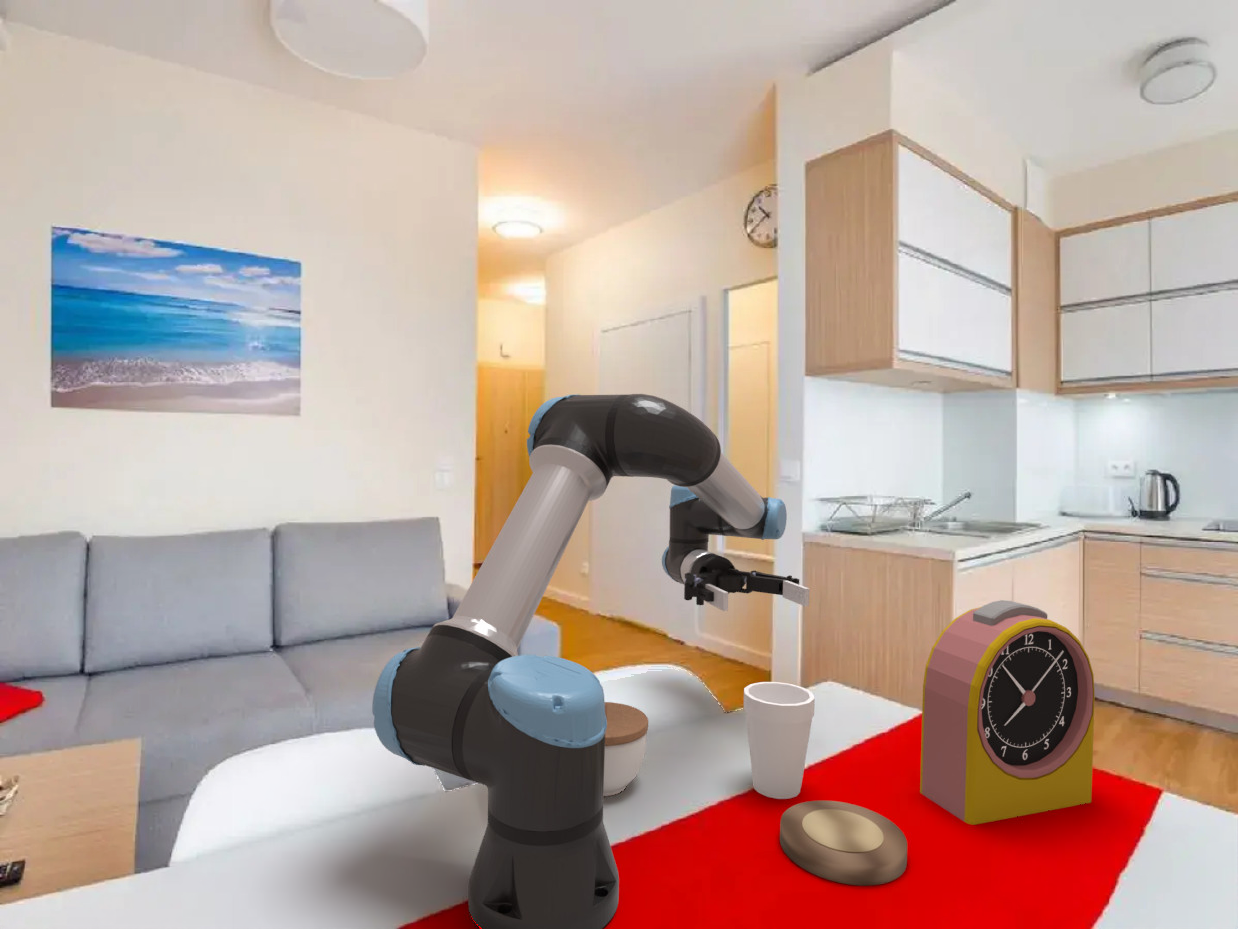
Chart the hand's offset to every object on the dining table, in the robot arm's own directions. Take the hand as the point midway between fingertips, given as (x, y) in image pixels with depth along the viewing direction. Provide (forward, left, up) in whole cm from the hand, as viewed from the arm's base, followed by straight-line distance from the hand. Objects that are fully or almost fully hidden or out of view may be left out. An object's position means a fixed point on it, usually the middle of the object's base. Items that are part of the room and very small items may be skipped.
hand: (767, 599), depth 104 cm
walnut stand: (-3, -24, -24) cm, 34 cm away
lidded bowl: (-26, -2, -24) cm, 35 cm away
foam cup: (-3, -9, -24) cm, 26 cm away
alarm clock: (+26, -19, -24) cm, 40 cm away
